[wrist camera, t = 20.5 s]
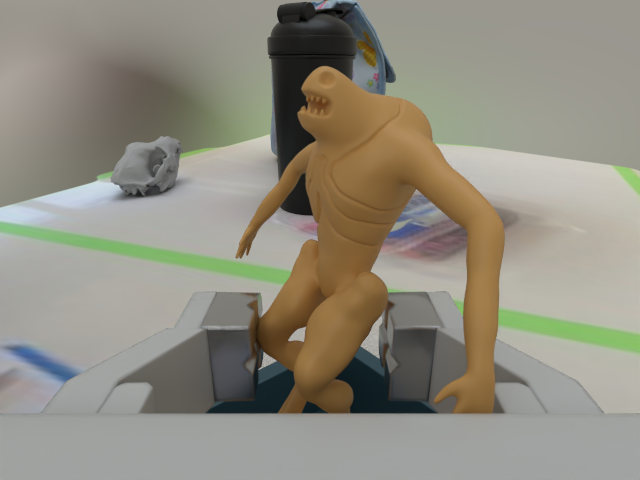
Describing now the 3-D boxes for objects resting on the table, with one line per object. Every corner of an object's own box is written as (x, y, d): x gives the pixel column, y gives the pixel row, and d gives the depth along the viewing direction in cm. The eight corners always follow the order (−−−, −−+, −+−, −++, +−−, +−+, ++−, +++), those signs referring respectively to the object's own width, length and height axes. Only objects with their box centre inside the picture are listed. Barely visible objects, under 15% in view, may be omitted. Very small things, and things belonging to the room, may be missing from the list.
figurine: (175, 485, 14) (69, 82, 9) (334, 404, 16) (313, 65, 12) (305, 867, 7) (151, 83, 2) (534, 623, 10) (660, 45, 5)
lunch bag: (398, 178, 70) (411, -9, 60) (298, 186, 65) (295, -16, 55) (346, 153, 90) (350, 10, 80) (266, 158, 85) (259, 5, 75)
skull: (89, 179, 58) (127, 110, 63) (134, 212, 66) (165, 149, 70) (132, 180, 55) (169, 108, 60) (174, 216, 62) (204, 149, 67)
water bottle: (365, 201, 58) (374, 7, 49) (323, 223, 50) (325, -4, 41) (304, 190, 63) (302, 13, 55) (257, 207, 55) (246, 3, 47)
